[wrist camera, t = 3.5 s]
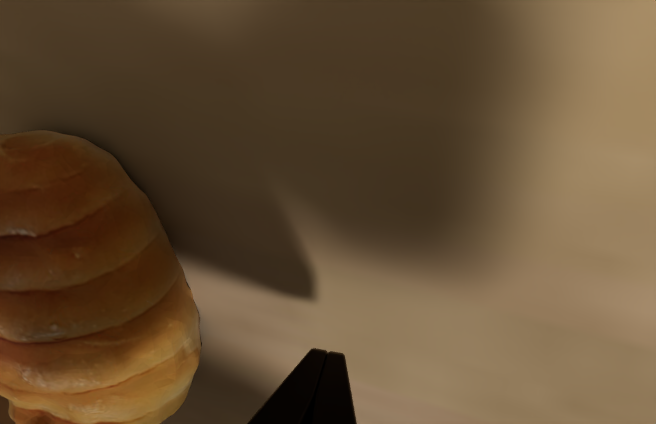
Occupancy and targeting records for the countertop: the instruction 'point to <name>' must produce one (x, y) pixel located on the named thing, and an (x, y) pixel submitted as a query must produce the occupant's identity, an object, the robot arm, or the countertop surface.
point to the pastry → (87, 290)
